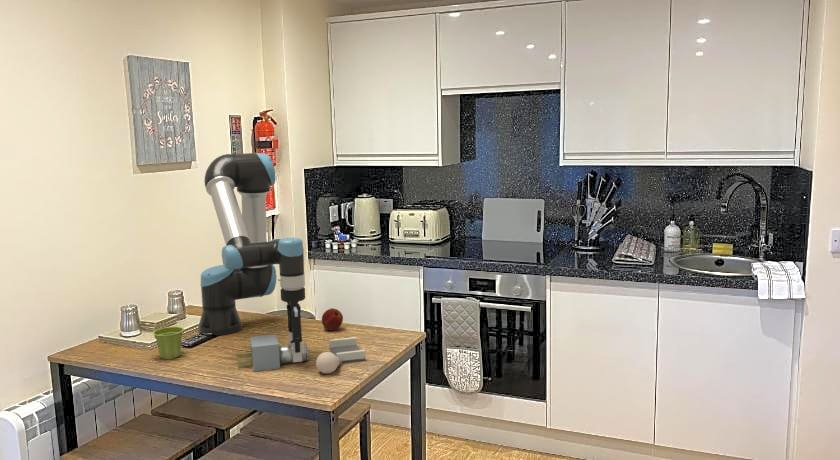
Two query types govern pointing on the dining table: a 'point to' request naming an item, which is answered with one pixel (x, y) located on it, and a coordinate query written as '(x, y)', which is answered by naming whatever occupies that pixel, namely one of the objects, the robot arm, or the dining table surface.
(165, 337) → the plant pot
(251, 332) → the dining table surface
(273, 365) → the block
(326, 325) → the apple
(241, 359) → the translucent yellow block
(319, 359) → the beige ball knob
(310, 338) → the dining table surface
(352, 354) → the rest
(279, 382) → the dining table surface
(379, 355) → the dining table surface
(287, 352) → the silver metal cylinder
